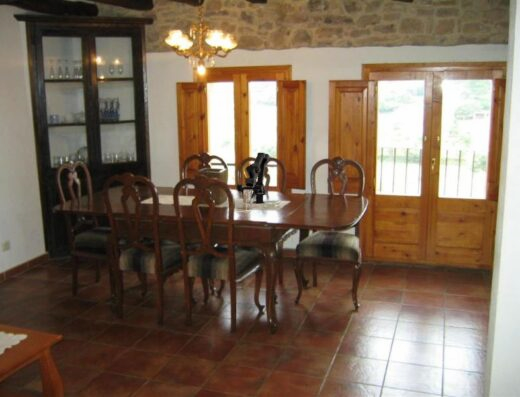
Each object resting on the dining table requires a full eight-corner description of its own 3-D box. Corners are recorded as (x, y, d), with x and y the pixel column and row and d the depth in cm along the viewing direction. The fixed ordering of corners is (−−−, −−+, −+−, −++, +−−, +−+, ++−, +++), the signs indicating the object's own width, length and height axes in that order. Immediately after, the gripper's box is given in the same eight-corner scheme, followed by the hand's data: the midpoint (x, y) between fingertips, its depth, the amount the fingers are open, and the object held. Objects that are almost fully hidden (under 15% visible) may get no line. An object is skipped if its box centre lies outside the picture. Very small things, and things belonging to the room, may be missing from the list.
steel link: (244, 206, 400) (244, 189, 397) (252, 206, 398) (252, 189, 396) (243, 206, 398) (243, 189, 396) (251, 207, 397) (251, 190, 394)
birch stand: (239, 210, 397) (239, 192, 395) (253, 211, 394) (253, 193, 392) (235, 213, 387) (234, 195, 385) (248, 214, 384) (248, 196, 382)
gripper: (237, 172, 400) (232, 190, 392) (262, 174, 395) (257, 192, 387) (240, 182, 409) (235, 199, 401) (265, 183, 404) (260, 201, 395)
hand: (247, 198), depth 396 cm, fingers closed on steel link, 6 cm apart
